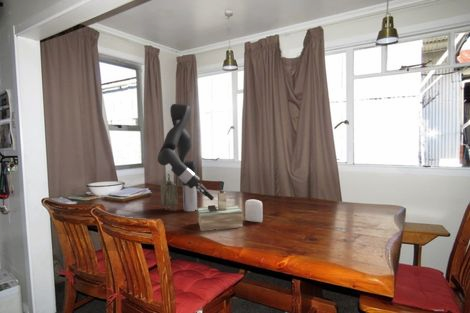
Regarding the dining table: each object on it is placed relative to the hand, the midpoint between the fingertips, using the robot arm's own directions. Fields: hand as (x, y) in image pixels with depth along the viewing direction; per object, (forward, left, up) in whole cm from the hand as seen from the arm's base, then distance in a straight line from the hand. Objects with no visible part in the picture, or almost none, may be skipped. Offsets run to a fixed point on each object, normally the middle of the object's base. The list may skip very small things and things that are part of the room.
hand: (212, 198), depth 154 cm
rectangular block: (0, +4, -15) cm, 15 cm away
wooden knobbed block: (0, +5, -6) cm, 8 cm away
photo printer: (-2, +24, -15) cm, 28 cm away
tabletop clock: (-44, -24, -15) cm, 52 cm away
